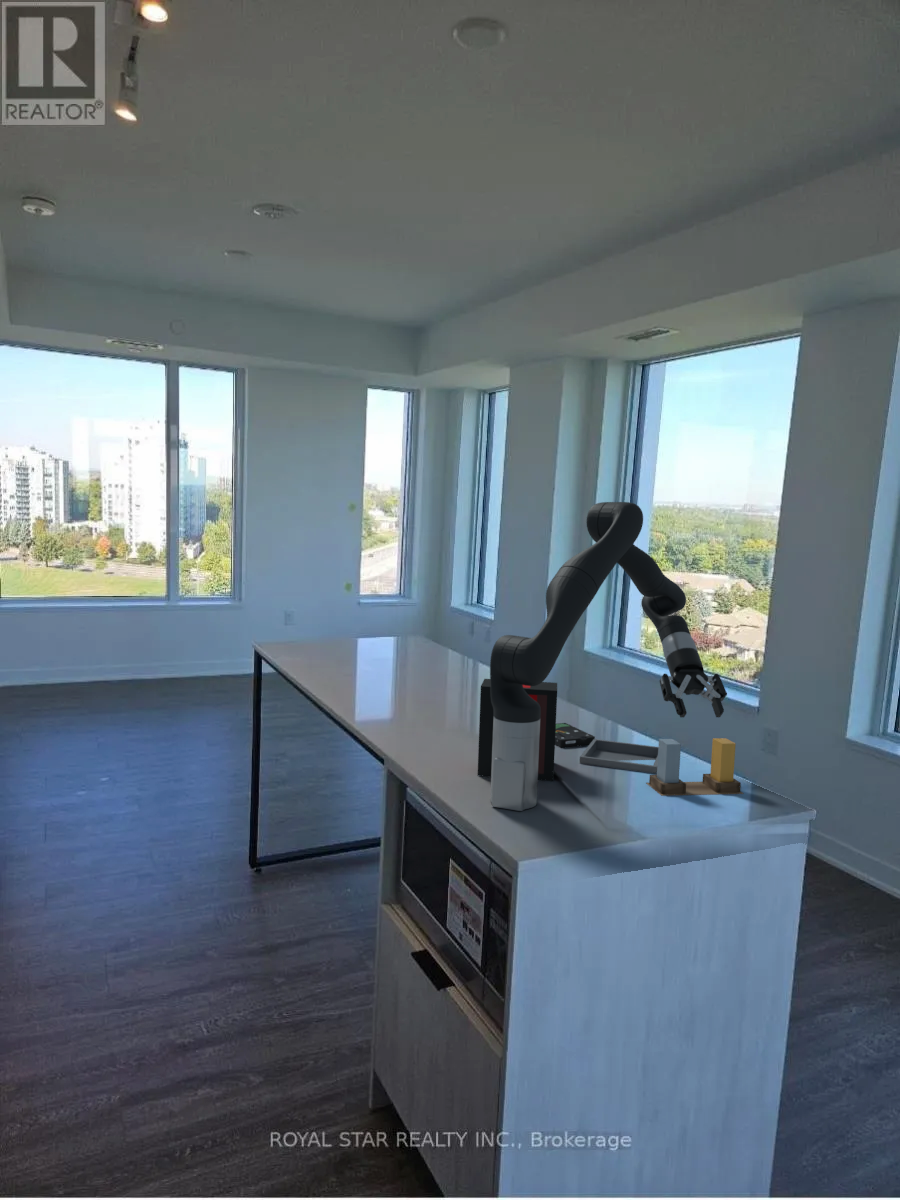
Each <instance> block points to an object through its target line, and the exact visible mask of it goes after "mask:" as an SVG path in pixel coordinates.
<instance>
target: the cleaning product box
mask: <svg viewBox="0 0 900 1200" xmlns="http://www.w3.org/2000/svg"><path fill="white" fill-rule="evenodd" d="M523 688H524V690H525V691H526V693H527V694H528V695H529V696H530V697H531V698H532V699H534V700H535V701H536V702H538V703H539V705H540V708H541V715H540V736H539V760H538V781H542V782H543V781H544V782H554V774H555V773H554V772H555V771H554V769H555V755H556V754H555V749H556V745H555V731H556V724H557V710H558V709H557V706H558V705H557V702H558V682H550V681H549V682H548V681H543V682H542V683H540V684H539V685H536V686H527V685H523ZM479 694H480V695H479V696H480V697H479V699H480V700H479V727H478V749H477V750H478V751H477V754H478V755H477V757H478V758H477V776H478V775H483V776H482V777H487V776H491V770H492V744H493V720H494V709H493V706H492V703H491V686H490V678H484V679H483V681H482V683H481V685H480V693H479Z"/></svg>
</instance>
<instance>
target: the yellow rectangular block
mask: <svg viewBox="0 0 900 1200" xmlns="http://www.w3.org/2000/svg"><path fill="white" fill-rule="evenodd" d="M711 744H712V745H711V759H710V773H709V774H710V776H711V777H712V778H714V779H715V780H717V781H718V782H733V778H734V777H735V775H734V774H735V773H734V772H735V759H736V742H734V741H732V740H730V739H728V738H726V737H724V738H723V737H722V738H715V737H714V738H712V743H711Z"/></svg>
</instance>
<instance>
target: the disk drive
mask: <svg viewBox="0 0 900 1200" xmlns="http://www.w3.org/2000/svg"><path fill="white" fill-rule="evenodd" d="M593 739H596V736H594V735H592V734H590V733H588V732H586V731H584V730H581V729H579V728H578V727H575V726H573V725H571V724H569V723H568V722H560V723H556V731H555V747H558V748H560V749H564V748H565V747H566V748H575V747H586V746H587V747H588V746H589V745H590V743H591V742H592V741H593ZM566 748H565V749H566Z"/></svg>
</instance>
